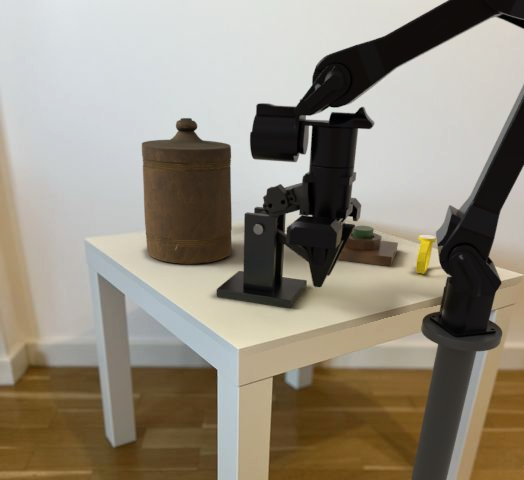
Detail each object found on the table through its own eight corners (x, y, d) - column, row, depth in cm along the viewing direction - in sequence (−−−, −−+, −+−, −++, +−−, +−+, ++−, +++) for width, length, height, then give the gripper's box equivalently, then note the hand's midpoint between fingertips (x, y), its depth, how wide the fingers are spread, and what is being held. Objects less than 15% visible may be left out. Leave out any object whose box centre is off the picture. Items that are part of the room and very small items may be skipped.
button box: (396, 251, 102) (399, 232, 101) (390, 266, 94) (393, 246, 92) (333, 243, 105) (335, 225, 104) (322, 257, 97) (323, 238, 95)
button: (373, 236, 99) (375, 226, 98) (370, 241, 96) (372, 231, 95) (354, 234, 100) (355, 224, 99) (350, 238, 97) (351, 229, 96)
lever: (325, 270, 79) (334, 257, 77) (317, 281, 74) (327, 268, 73) (258, 221, 79) (267, 208, 78) (246, 229, 75) (255, 215, 73)
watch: (427, 278, 89) (433, 242, 86) (409, 275, 90) (415, 239, 87) (432, 268, 94) (438, 233, 91) (416, 265, 95) (421, 231, 92)
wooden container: (207, 237, 107) (206, 114, 97) (246, 257, 95) (249, 121, 86) (134, 246, 99) (124, 115, 89) (167, 269, 88) (160, 122, 78)
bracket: (306, 287, 83) (312, 209, 78) (290, 308, 75) (295, 223, 70) (238, 277, 86) (239, 201, 81) (216, 296, 78) (216, 214, 73)
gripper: (291, 152, 80) (285, 255, 87) (247, 169, 64) (245, 294, 71) (367, 158, 77) (355, 264, 84) (341, 177, 61) (329, 307, 68)
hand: (321, 280), depth 77 cm, fingers closed on lever, 5 cm apart
